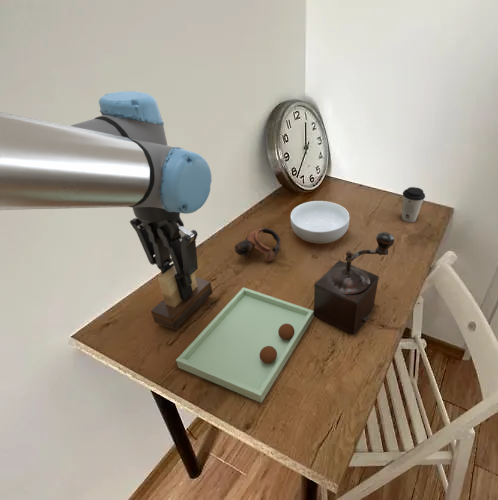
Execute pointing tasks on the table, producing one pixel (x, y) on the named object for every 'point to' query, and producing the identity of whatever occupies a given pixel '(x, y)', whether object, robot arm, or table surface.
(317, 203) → the cereal bowl
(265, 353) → the cork ball
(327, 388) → the table surface
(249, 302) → the tray
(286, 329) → the cork ball
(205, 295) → the chalkboard eraser
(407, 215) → the coffee cup
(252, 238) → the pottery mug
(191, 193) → the robot arm
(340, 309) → the manual coffee grinder
